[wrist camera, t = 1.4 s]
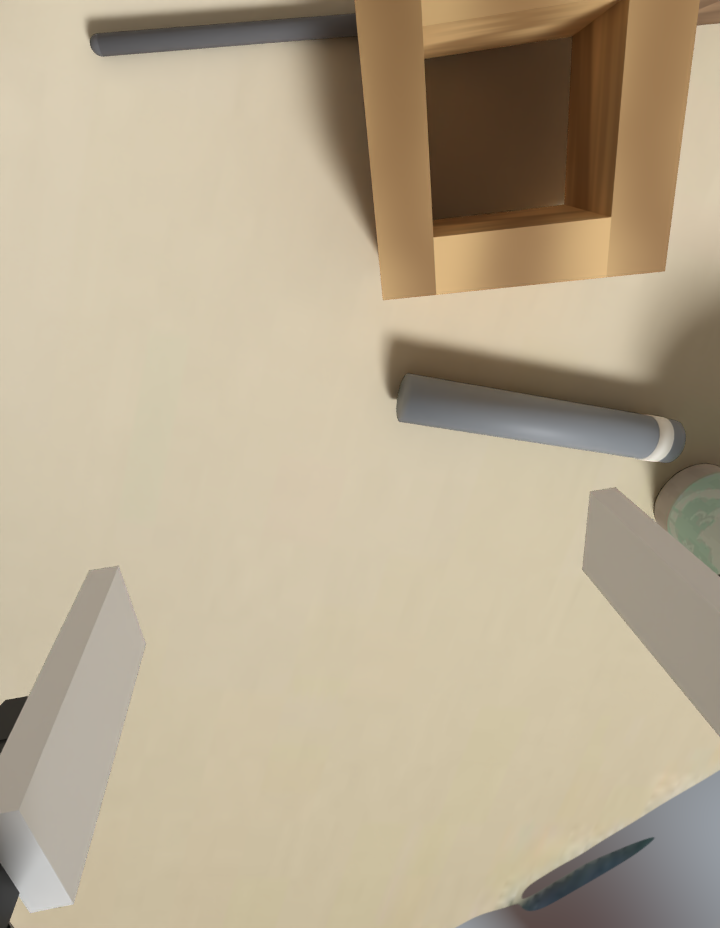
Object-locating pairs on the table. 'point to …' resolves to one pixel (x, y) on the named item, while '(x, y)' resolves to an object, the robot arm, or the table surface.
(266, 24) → the grey long thin rod
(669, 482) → the coffee cup
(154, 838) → the table surface
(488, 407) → the gray tube
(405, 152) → the light wooden square box
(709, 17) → the bead dark
